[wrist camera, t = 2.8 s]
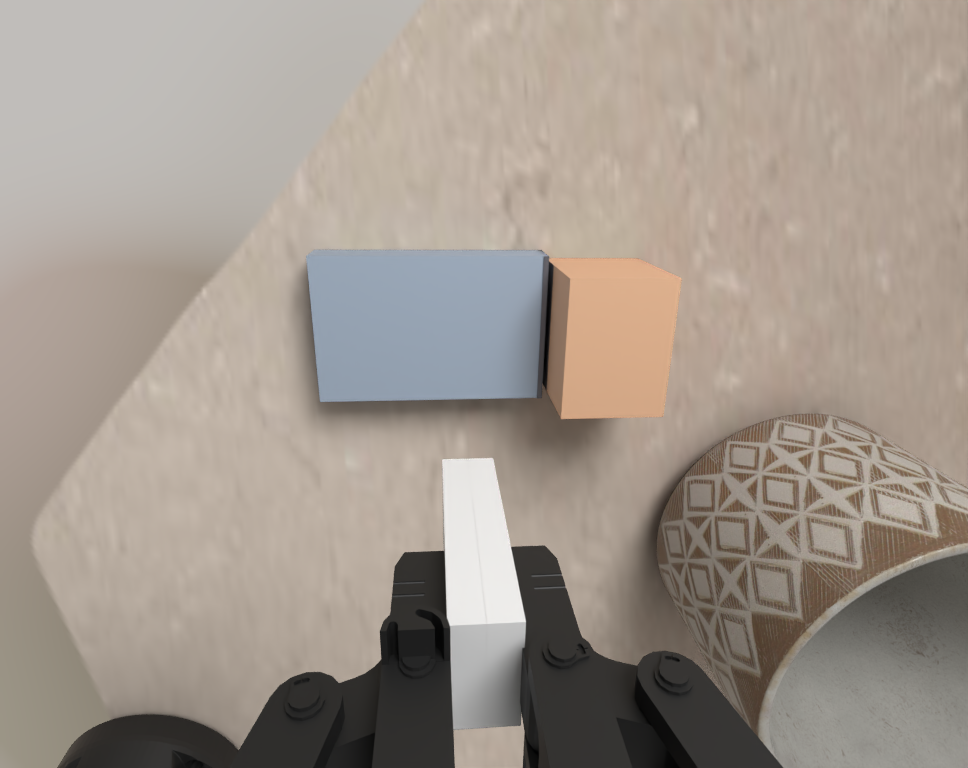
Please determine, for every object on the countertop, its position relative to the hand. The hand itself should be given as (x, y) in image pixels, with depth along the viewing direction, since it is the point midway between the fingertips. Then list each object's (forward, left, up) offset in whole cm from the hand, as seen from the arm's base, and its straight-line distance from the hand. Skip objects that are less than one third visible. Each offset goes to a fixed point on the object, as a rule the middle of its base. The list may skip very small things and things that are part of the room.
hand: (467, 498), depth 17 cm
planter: (+25, -16, -22) cm, 37 cm away
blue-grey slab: (-1, 0, -22) cm, 22 cm away
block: (+9, 0, -22) cm, 23 cm away
